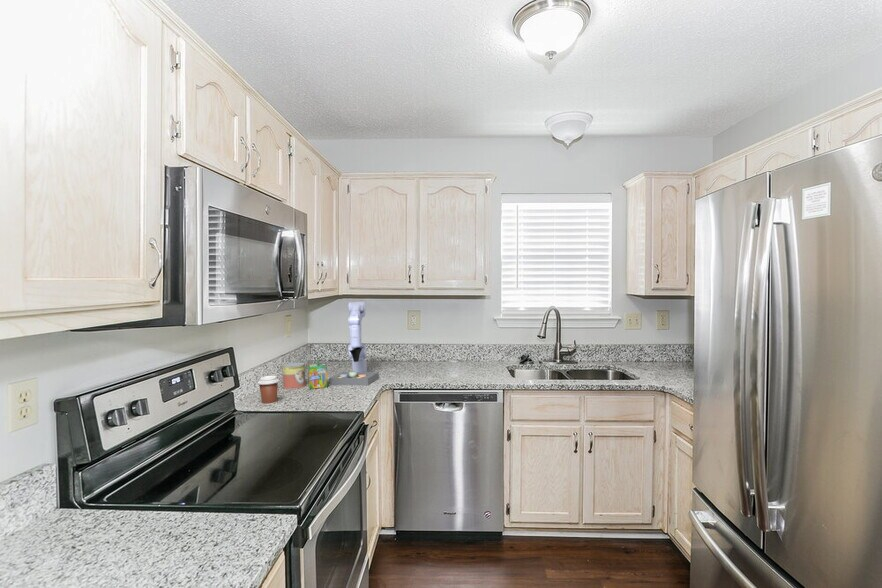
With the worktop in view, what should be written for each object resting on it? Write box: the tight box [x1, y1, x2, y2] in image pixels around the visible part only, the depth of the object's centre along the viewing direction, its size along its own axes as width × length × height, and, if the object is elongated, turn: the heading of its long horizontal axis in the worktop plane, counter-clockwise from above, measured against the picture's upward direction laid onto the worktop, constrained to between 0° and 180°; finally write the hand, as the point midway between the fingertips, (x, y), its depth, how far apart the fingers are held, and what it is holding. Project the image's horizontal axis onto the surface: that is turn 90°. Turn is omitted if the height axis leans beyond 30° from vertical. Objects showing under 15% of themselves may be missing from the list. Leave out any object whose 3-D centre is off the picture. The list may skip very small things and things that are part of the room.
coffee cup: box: [257, 375, 280, 406], centre depth 201 cm, size 9×9×12 cm
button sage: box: [348, 371, 357, 377], centre depth 238 cm, size 4×4×3 cm
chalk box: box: [307, 358, 329, 390], centre depth 230 cm, size 9×9×15 cm
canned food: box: [281, 361, 307, 390], centre depth 232 cm, size 11×11×12 cm
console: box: [328, 371, 380, 386], centre depth 240 cm, size 16×22×4 cm
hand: (356, 361), depth 242 cm, fingers closed
